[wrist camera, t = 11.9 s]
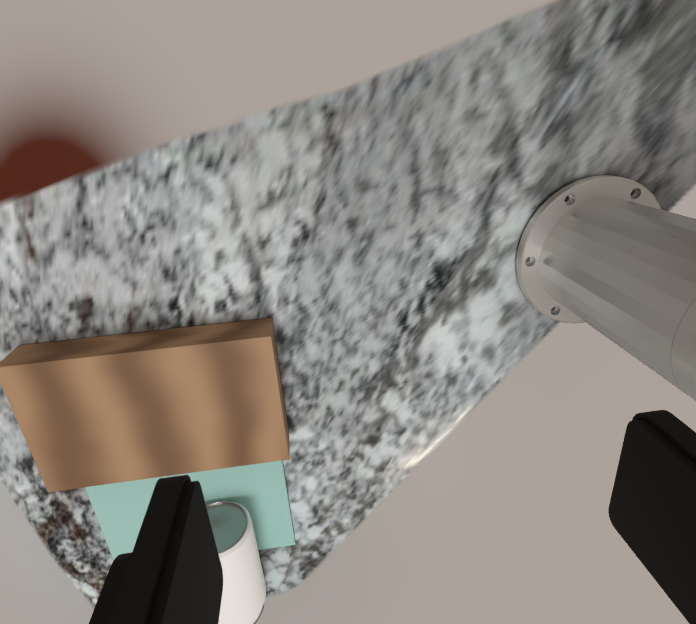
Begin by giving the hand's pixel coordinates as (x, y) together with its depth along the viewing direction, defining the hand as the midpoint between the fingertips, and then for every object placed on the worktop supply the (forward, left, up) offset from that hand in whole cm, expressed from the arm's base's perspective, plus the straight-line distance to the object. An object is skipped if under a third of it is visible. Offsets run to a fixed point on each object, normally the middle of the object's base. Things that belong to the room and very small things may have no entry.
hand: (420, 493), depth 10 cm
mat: (+15, +27, -28) cm, 42 cm away
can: (+13, +26, -25) cm, 38 cm away
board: (+15, +14, -28) cm, 35 cm away
